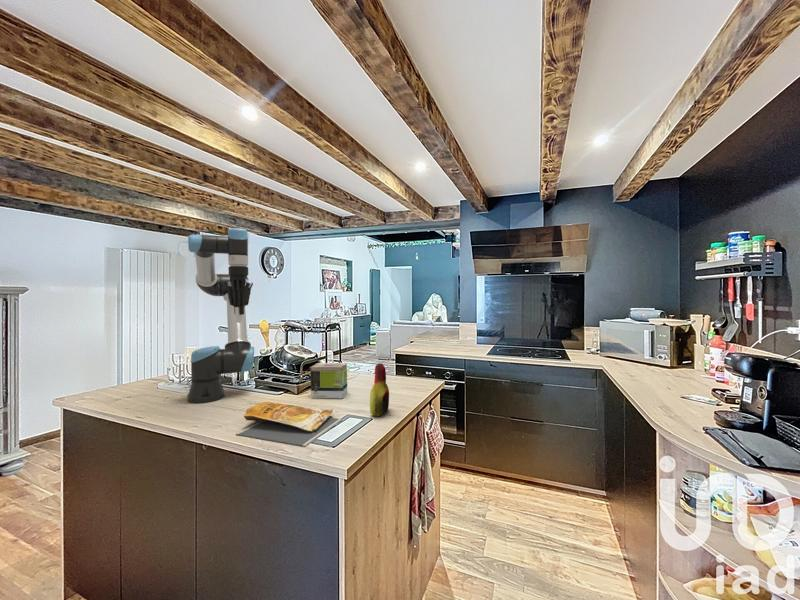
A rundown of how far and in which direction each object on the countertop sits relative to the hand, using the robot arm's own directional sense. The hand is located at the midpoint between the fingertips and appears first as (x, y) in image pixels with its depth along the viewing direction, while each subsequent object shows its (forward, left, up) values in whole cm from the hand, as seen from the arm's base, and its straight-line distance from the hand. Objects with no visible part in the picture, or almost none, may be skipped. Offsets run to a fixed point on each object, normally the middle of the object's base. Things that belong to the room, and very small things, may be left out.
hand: (239, 322), depth 146 cm
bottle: (+58, +14, -37) cm, 70 cm away
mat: (+33, -10, -36) cm, 50 cm away
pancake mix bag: (+16, -9, -34) cm, 38 cm away
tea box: (+26, +28, -37) cm, 53 cm away
